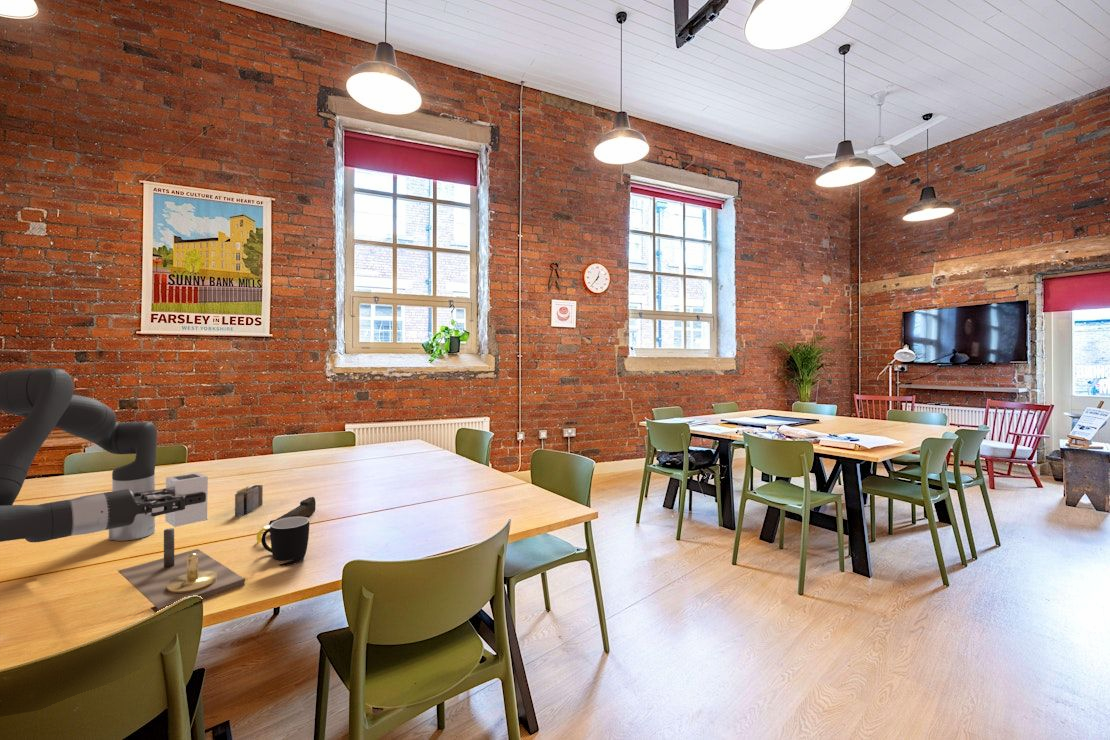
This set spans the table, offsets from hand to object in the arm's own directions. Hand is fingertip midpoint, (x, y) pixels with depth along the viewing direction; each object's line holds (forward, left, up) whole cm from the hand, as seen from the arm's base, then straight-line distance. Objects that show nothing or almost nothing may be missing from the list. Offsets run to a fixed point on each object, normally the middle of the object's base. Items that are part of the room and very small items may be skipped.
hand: (199, 494), depth 109 cm
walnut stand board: (-5, +3, -21) cm, 22 cm away
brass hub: (0, -3, -20) cm, 20 cm away
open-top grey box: (-2, -2, -5) cm, 6 cm away
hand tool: (+12, +40, -22) cm, 47 cm away
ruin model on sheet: (-4, +56, -22) cm, 60 cm away
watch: (+10, +19, -21) cm, 30 cm away
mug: (+16, +9, -21) cm, 28 cm away
